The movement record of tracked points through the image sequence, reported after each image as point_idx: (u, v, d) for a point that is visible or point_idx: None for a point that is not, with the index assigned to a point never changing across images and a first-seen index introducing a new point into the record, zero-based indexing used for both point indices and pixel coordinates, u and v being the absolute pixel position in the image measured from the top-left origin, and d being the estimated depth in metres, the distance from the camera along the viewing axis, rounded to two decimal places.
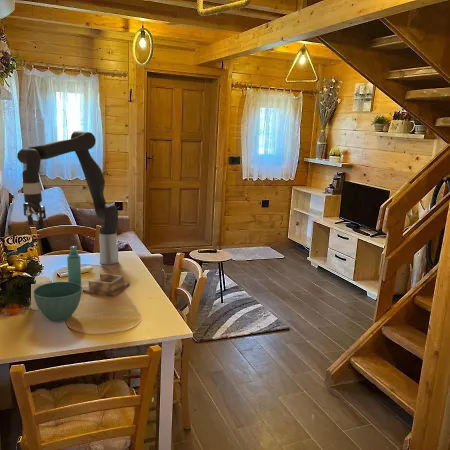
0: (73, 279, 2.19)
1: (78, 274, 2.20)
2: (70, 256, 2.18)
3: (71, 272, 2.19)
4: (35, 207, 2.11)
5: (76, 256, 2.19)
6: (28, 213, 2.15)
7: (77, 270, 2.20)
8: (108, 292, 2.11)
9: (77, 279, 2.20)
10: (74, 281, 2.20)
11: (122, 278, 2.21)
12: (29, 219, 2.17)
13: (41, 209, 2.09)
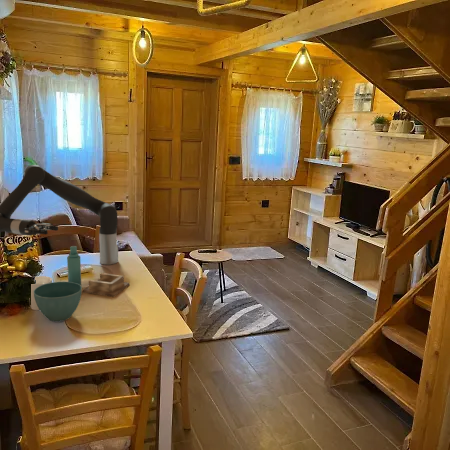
0: (73, 279, 2.19)
1: (78, 274, 2.20)
2: (70, 256, 2.18)
3: (71, 272, 2.19)
4: None
5: (76, 256, 2.19)
6: None
7: (77, 270, 2.20)
8: (108, 292, 2.11)
9: (77, 279, 2.20)
10: (74, 281, 2.20)
11: (122, 278, 2.21)
12: (52, 229, 2.24)
13: (27, 232, 2.16)
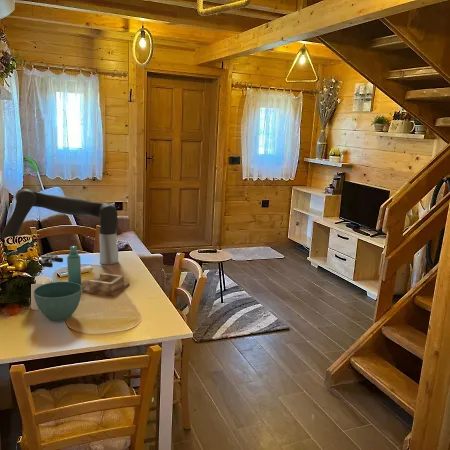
0: (73, 279, 2.19)
1: (78, 274, 2.20)
2: (70, 256, 2.18)
3: (71, 272, 2.19)
4: None
5: (76, 256, 2.19)
6: (50, 262, 2.27)
7: (77, 270, 2.20)
8: (108, 292, 2.11)
9: (77, 279, 2.20)
10: (74, 281, 2.20)
11: (122, 278, 2.21)
12: (57, 260, 2.28)
13: None
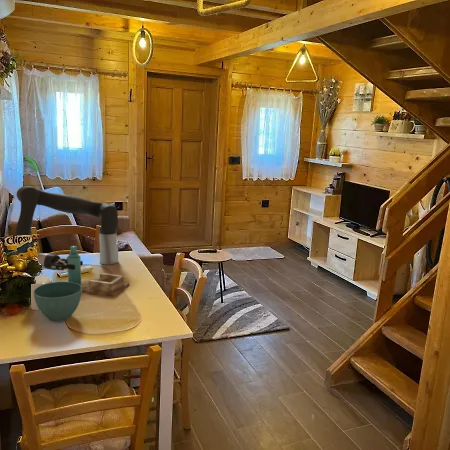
0: (73, 279, 2.19)
1: (78, 274, 2.20)
2: (70, 256, 2.18)
3: (71, 272, 2.19)
4: None
5: (76, 256, 2.19)
6: None
7: (77, 270, 2.20)
8: (108, 292, 2.11)
9: (77, 279, 2.20)
10: (74, 281, 2.20)
11: (122, 278, 2.21)
12: None
13: (54, 268, 2.16)
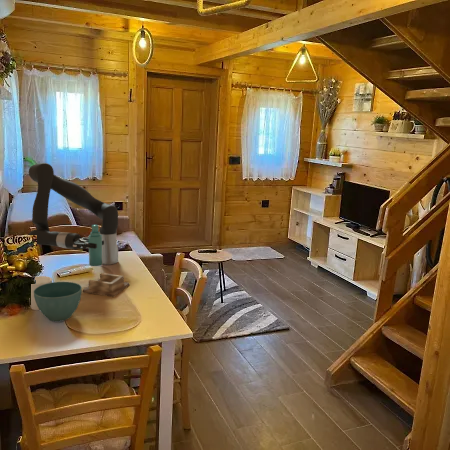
0: (95, 258, 2.14)
1: (99, 253, 2.15)
2: (92, 235, 2.13)
3: (92, 251, 2.13)
4: None
5: (98, 235, 2.13)
6: None
7: (99, 249, 2.14)
8: (108, 292, 2.11)
9: (98, 258, 2.15)
10: (95, 260, 2.14)
11: (122, 278, 2.21)
12: None
13: (75, 247, 2.11)
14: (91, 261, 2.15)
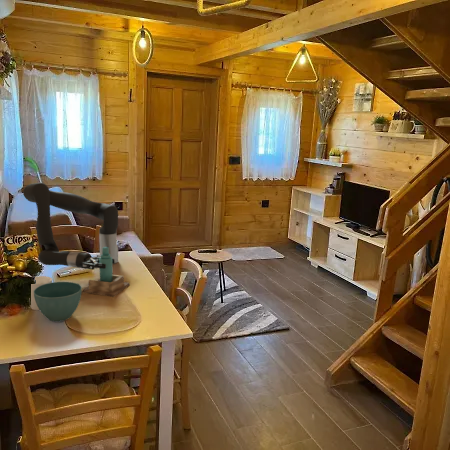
0: (105, 280, 2.16)
1: (110, 275, 2.16)
2: (102, 257, 2.14)
3: (103, 273, 2.15)
4: None
5: (108, 257, 2.15)
6: None
7: (109, 271, 2.16)
8: (108, 292, 2.11)
9: (109, 280, 2.16)
10: None
11: (122, 278, 2.21)
12: None
13: (85, 266, 2.12)
14: None
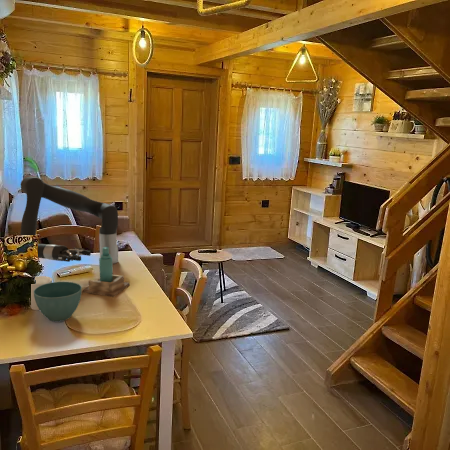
0: (106, 280, 2.15)
1: (110, 276, 2.16)
2: (102, 257, 2.14)
3: (103, 273, 2.15)
4: None
5: (108, 257, 2.15)
6: (77, 255, 2.23)
7: (110, 271, 2.16)
8: (108, 292, 2.11)
9: (109, 280, 2.16)
10: None
11: (122, 278, 2.21)
12: (84, 254, 2.23)
13: (60, 259, 2.14)
14: None
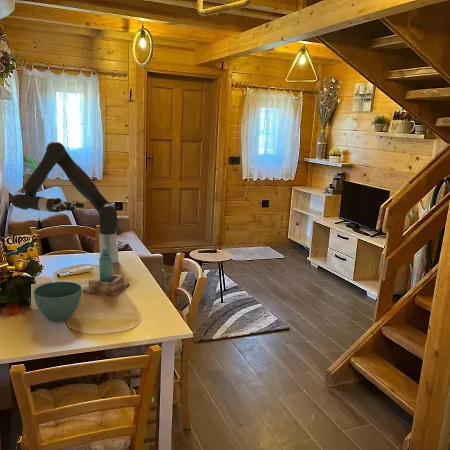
0: (106, 280, 2.15)
1: (110, 276, 2.16)
2: (102, 257, 2.14)
3: (103, 273, 2.15)
4: None
5: (108, 257, 2.15)
6: None
7: (110, 271, 2.16)
8: (108, 292, 2.11)
9: (109, 280, 2.16)
10: None
11: (122, 278, 2.21)
12: (78, 206, 2.31)
13: (54, 209, 2.22)
14: None
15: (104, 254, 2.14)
